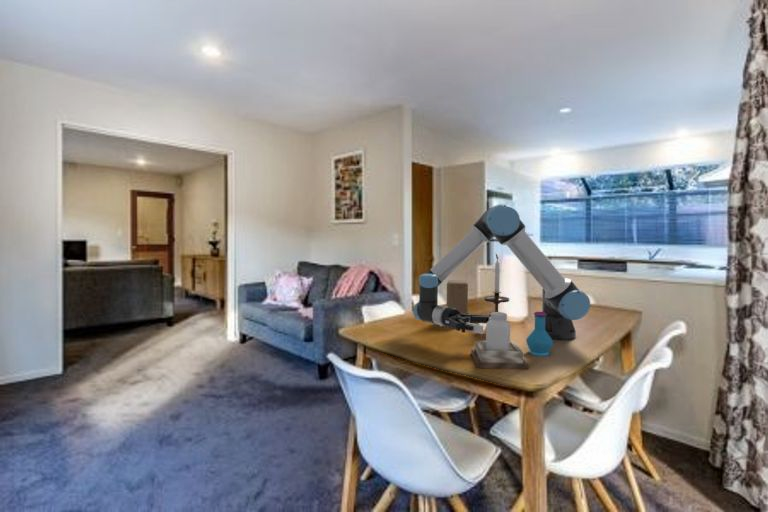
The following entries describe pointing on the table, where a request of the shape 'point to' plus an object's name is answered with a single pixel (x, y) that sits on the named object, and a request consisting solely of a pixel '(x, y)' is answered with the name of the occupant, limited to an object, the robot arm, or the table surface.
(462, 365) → the table surface
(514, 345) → the bottle stand
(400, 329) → the table surface
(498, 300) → the candlestick
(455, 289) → the wooden block
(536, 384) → the table surface
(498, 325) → the pill bottle
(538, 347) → the perfume bottle
